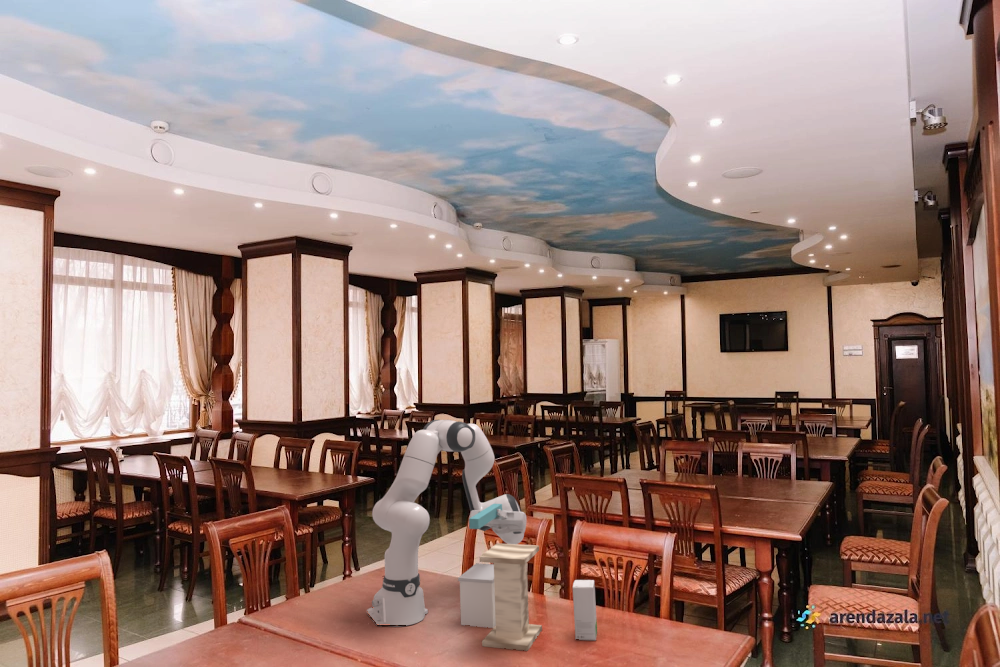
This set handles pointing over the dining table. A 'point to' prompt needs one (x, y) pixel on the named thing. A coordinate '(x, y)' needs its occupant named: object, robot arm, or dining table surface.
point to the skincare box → (584, 610)
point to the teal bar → (484, 516)
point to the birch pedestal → (511, 597)
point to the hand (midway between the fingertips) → (491, 511)
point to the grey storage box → (478, 596)
